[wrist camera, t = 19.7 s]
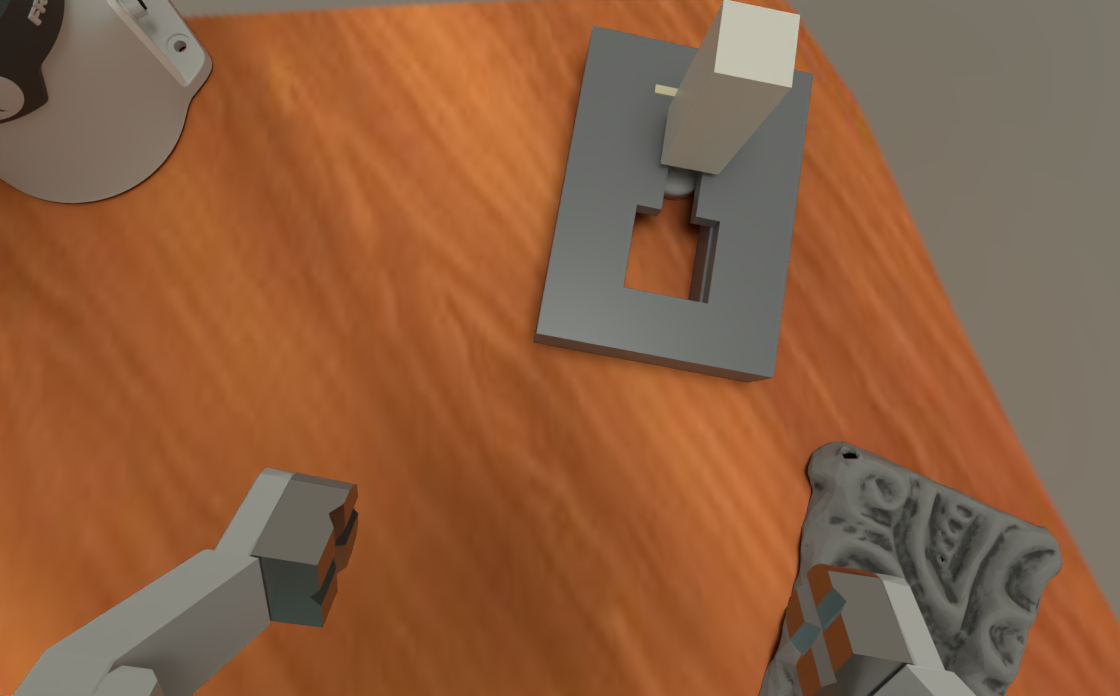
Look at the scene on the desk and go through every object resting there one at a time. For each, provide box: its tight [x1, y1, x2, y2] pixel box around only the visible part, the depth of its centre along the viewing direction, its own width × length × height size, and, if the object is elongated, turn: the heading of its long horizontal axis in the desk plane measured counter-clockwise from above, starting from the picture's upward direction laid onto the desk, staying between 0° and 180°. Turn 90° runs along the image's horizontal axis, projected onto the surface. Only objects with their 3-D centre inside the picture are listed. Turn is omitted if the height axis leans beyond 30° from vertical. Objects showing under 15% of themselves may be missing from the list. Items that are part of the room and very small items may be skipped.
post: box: [661, 0, 800, 200], centre depth 40 cm, size 4×4×16 cm
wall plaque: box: [758, 442, 1063, 696], centre depth 43 cm, size 24×19×4 cm
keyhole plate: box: [534, 26, 813, 382], centre depth 45 cm, size 22×16×5 cm
